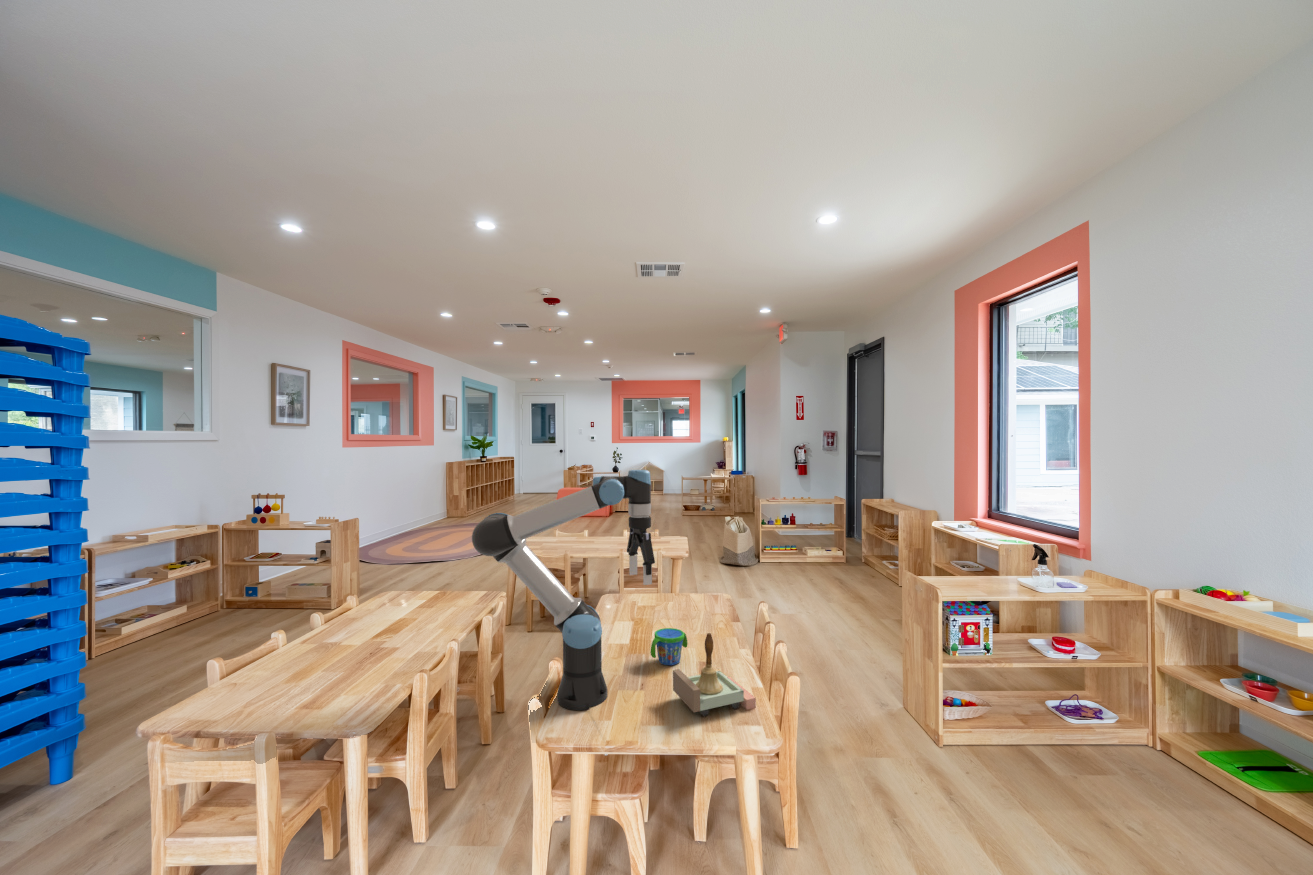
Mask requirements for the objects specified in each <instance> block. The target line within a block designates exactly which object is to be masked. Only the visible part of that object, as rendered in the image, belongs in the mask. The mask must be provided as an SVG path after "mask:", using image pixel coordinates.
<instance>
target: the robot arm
mask: <svg viewBox="0 0 1313 875" xmlns="http://www.w3.org/2000/svg"><path fill="white" fill-rule="evenodd" d="M651 482H652V481H651V472H650V471H649V470H648V469H630V470H629V471H628V473H627V475H625V476H624V475H623V476H621V475H620V476H607V475H602V476H595V477H594V476H593V478H592V485H590V486H589V487H588V486H587V487H586V488H583V489H581V490H578V491H576V492H573V493H570V494H569V495H565V496H562V497H560V498H558V499H555V500H553V501H550V502H547V503H545V504H542V505H539V506H537V507H534V508H532V509H529V510H526V511H524V512H521V513H518V514H517V515H511V514H507V513H505V512H504V513H503V512H495V513H491V514H489V515H488V516H486V517H484V519H482V520H481V521H479V522H478V524H477V525H475V527H474V529H473V530H472V533H471V543H472V546H473V548H474V549H475V550H476V552H478V553H479V554H480V555H482V556H485V557H493V558H494V559H495V561H496V562H497V563H502V564H506V565H507V567H508V568H509V569H510V570H511V571H512V572H513V573H514V574H515V575H516V577H517V578H518V579H519V580H520V581H521V582H522V583H523V584H524V585H525V586H526V587H527V588H528V590H529V591H530V592H531V593H532V594H533V595H534V596H535V598H537V600H539V602H540V603H541V604H542V606H544V607H545V609H546V610H547V611H548V612H549V613H550V615H552V616H553V618H554V619H553V624H554V626H555V627H556V628H557V629H558V630H559V632H561V633H562V634H561V635H562V675H561V680H560V682H559V686H558V689H557V693H556V695H557V697H556V698H557V699H556V700H557V703H558V705H559V706H560V707H562V708H564V709H567V710H570V711H571V710H572V711H587V710H590V709H591V708H594V707H596V706H599V705H601V704H603V703H604V702H605V701H606V700H607V698H608V686H607V684H606V680H605V677H604V674H603V671H602V667H603V666H602V662H603V661H602V656H603V655H602V634H603V627H602V623H601V618H600V615H599V613H598V612H597V611H596V610H597V609H595V608H593V607H592V606H591V605H588V604H587V603H586V602H585V601H584V599H582V598H581V597H574V596H573V595H572V594H571V593H570V591H569V590H568V589H567V588H566V587H565V586H564V585H563V584H562V583H561V581H560V580H559V579H558V578H557V577H556V576H555V574H553V573H552V571H551V570H550V569H549V568H548V567H547V566H546V565H545V564H544V562H542V560H541V559H540V558H539V556H537V555H536V554H535V553H534V552H533V550H532V549H531V548H530V547H529V546H528V545H527V539H529V538H531V537H533V536H536V535H538V534H541V533H543V532H545V531H548V530H551V529H553V528H555V527H558V526H561V525H563V524H566V523H568V522H570V521H573V520H575V519H578V518H581V517H582V516H583V517H584V516H585V515H588V514H590V513H594V512H595V511H598V510H601V509H603V508H606V507H608V506H614V505H617V504H619V503H620V502H622V500H624V499H625V500H626V499H628V507H627V509H628V511H627V512H628V513H627V514H628V528H629V536H628V542H627V548H626V552H627V553H628V558H629V561H628V562H629V566H628V567H629V568H628V570H629V576H634V575H635V576H636V575H638V555H639V554H638V550H639V548H640V551H641V556H642V560H643V562H642V567H643V569H642V575H643V579H642V582H643V584H642V585H643V586H648V585H649V586H650V585H653V564H655V563H656V561H655V555H654V549H653V542H652V534H651V533H650V532H647V529H650V528H652V517H651V515H652V510H651V509H652V508H653V507H652V504H651V502H652V483H651Z"/></svg>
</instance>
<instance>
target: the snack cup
mask: <svg viewBox="0 0 1313 875" xmlns="http://www.w3.org/2000/svg"><path fill="white" fill-rule="evenodd" d="M687 647H688V638H687V635H686V633H685V632H684V631H683V630H682V629H678V628H673V627H672V628H671V627H665V628H660V629H657V630H656V631H655V632H654V638H653V640H652V641H651V646H650V656H651V657H652V658H654V659H656V657H658V661H659V662H660V664H661V665H664V666H674V665H677V664H678V663H680V661H681V658H682V652H683V651H682V648H687ZM656 651H657V652H656ZM656 654H657V655H656Z"/></svg>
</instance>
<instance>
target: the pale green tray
mask: <svg viewBox="0 0 1313 875" xmlns="http://www.w3.org/2000/svg"><path fill="white" fill-rule="evenodd" d="M716 673H717V678H718V681H719V683H720V684H721V685H722V686H723V690H722V691H721V692H720V693H718V694H712V695H707V694H702V693H700V689H699V688H698V687H697V686H696V683H697V682H698V681H699V679H700V676H701V674H696V675H691V676H687V675H686V674H685V673H684V672H683V671H682V670H680V669H679V668H677V669H673V670H672V691H673V692H674V693H675V694H676V695H677V696H678V697H679V698H680V699H681V700H682V701H683V703H685V705H686V706H687V707H688V708H689V709H690V710H691V711H692V713H697V712H699V713H700V714H699V715H701V716H702V717H703V718H704V717H708V716H709V713H710V710H711V709H714V708H719V707H723V706H728V705H730V707H731V708H732V709H733V710H738V709H739V708H740V705H741V704H740V703H739V702H741V701H744V690H742V689H741V688H740V687H739V686H738V685H736V684H735V683H734V682H733V681H731V680H730V679H729V678H728V676H727V675H725V674H724V673H723V672H722V671H720V670H716Z"/></svg>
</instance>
